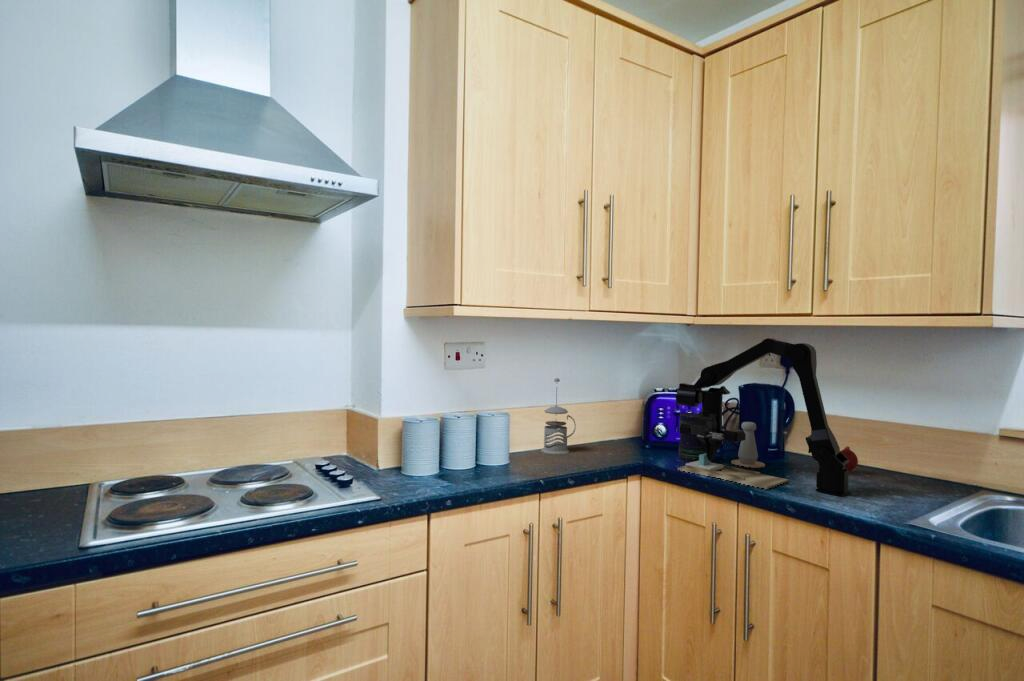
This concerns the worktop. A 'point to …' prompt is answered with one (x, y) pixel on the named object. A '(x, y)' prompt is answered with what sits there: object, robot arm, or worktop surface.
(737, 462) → the pad
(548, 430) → the french press
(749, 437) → the salt shaker
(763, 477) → the board
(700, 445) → the storage jar
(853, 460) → the onion
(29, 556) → the worktop surface
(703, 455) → the cover
